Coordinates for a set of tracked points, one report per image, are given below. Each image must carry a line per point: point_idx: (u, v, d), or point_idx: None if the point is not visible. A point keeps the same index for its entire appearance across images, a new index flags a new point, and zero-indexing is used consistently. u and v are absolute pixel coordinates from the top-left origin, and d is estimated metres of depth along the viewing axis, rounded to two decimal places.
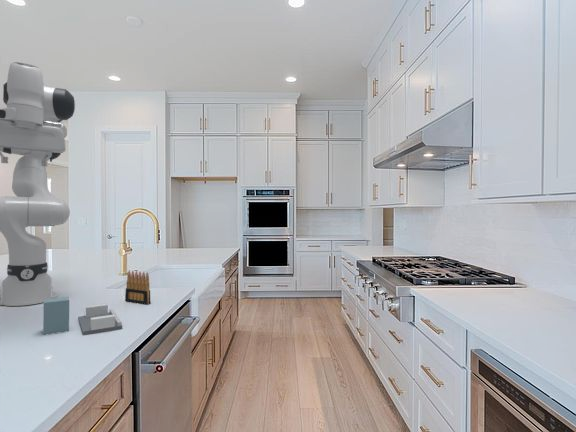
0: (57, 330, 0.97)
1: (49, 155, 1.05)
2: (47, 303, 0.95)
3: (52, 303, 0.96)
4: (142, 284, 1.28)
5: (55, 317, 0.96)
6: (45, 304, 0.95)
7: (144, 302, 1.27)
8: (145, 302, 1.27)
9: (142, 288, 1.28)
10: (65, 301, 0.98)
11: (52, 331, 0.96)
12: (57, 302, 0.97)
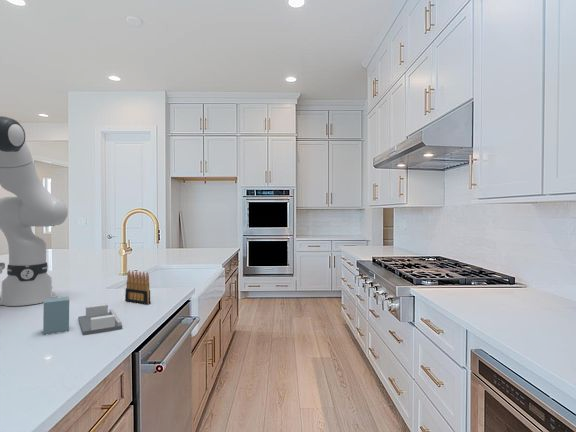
0: (57, 330, 0.97)
1: None
2: (47, 303, 0.95)
3: (52, 303, 0.96)
4: (142, 284, 1.28)
5: (55, 317, 0.96)
6: (45, 304, 0.95)
7: (144, 302, 1.27)
8: (145, 302, 1.27)
9: (142, 288, 1.28)
10: (65, 301, 0.98)
11: (52, 331, 0.96)
12: (57, 302, 0.97)
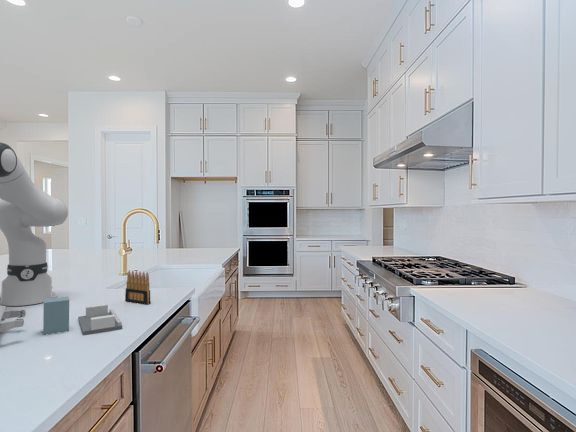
0: (57, 330, 0.97)
1: None
2: (47, 303, 0.95)
3: (52, 303, 0.96)
4: (142, 284, 1.28)
5: (55, 317, 0.96)
6: (45, 304, 0.95)
7: (144, 302, 1.27)
8: (145, 302, 1.27)
9: (142, 288, 1.28)
10: (65, 301, 0.98)
11: (52, 331, 0.96)
12: (57, 302, 0.97)
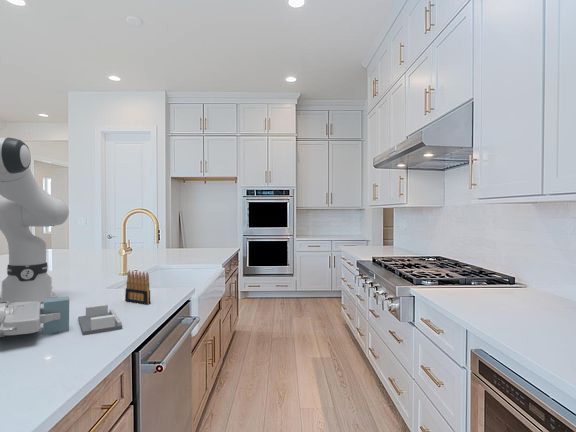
0: (57, 330, 0.97)
1: None
2: (47, 303, 0.95)
3: (52, 303, 0.96)
4: (142, 284, 1.28)
5: None
6: (45, 304, 0.95)
7: (144, 302, 1.27)
8: (145, 302, 1.27)
9: (142, 288, 1.28)
10: (65, 301, 0.98)
11: (52, 331, 0.96)
12: (57, 302, 0.97)
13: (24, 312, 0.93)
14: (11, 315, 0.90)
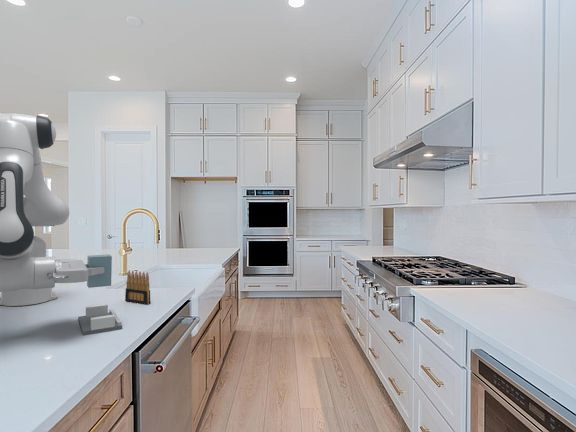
0: (101, 284, 1.03)
1: None
2: (92, 258, 1.01)
3: (96, 258, 1.02)
4: (142, 284, 1.28)
5: None
6: (90, 259, 1.01)
7: (144, 302, 1.27)
8: (145, 302, 1.27)
9: (142, 288, 1.28)
10: (108, 257, 1.04)
11: (96, 284, 1.02)
12: (101, 257, 1.03)
13: (72, 265, 0.99)
14: (61, 266, 0.96)
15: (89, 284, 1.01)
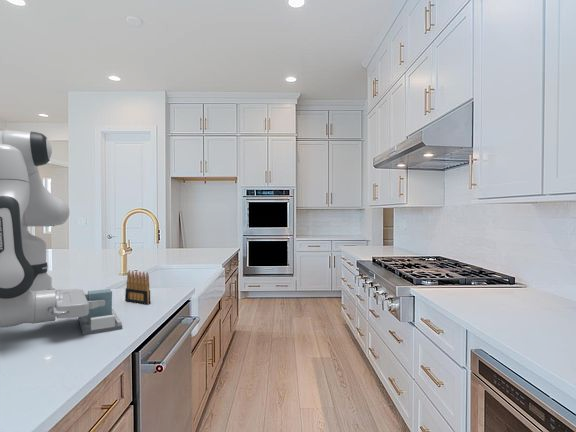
0: None
1: None
2: (92, 294, 1.02)
3: (97, 294, 1.02)
4: (142, 284, 1.28)
5: (99, 307, 1.03)
6: (91, 295, 1.01)
7: (144, 302, 1.27)
8: (145, 302, 1.27)
9: (142, 288, 1.28)
10: (108, 293, 1.04)
11: None
12: (101, 294, 1.03)
13: (72, 298, 0.99)
14: (61, 300, 0.96)
15: (89, 321, 1.01)
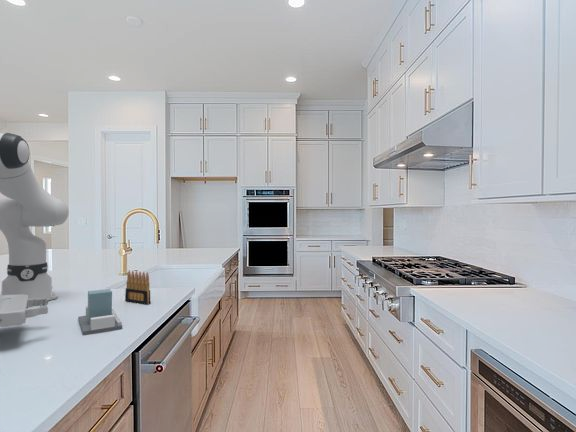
0: None
1: None
2: (92, 294, 1.02)
3: (97, 294, 1.02)
4: (142, 284, 1.28)
5: (99, 307, 1.03)
6: (91, 295, 1.01)
7: (144, 302, 1.27)
8: (145, 302, 1.27)
9: (142, 288, 1.28)
10: (108, 293, 1.04)
11: None
12: (101, 294, 1.03)
13: (10, 304, 0.91)
14: None
15: (89, 321, 1.01)
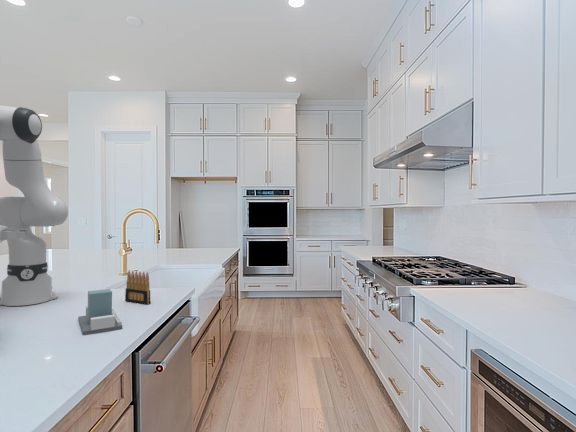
0: None
1: None
2: (92, 294, 1.02)
3: (97, 294, 1.02)
4: (142, 284, 1.28)
5: (99, 307, 1.03)
6: (91, 295, 1.01)
7: (144, 302, 1.27)
8: (145, 302, 1.27)
9: (142, 288, 1.28)
10: (108, 293, 1.04)
11: None
12: (101, 294, 1.03)
13: None
14: None
15: (89, 321, 1.01)
